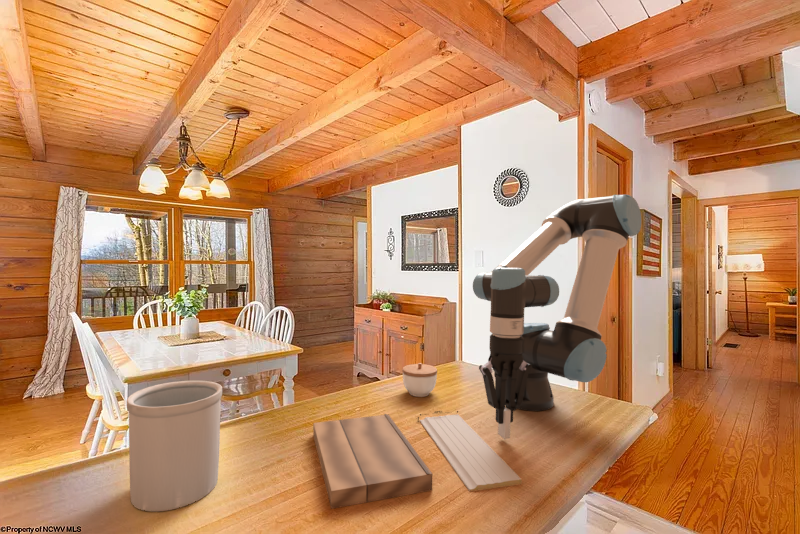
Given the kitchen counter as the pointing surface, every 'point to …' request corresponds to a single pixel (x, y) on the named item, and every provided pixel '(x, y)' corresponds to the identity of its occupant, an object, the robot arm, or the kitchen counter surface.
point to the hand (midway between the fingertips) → (503, 436)
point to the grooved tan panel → (368, 461)
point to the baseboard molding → (469, 453)
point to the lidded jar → (419, 379)
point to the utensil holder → (173, 443)
